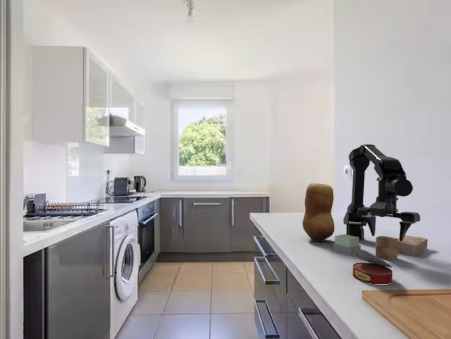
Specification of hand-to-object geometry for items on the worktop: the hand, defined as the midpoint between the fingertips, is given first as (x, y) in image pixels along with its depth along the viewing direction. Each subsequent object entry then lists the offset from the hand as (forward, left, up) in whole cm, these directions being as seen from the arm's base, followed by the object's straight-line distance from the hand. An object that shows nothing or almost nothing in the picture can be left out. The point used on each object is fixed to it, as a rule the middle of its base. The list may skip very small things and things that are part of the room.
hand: (386, 238), depth 99 cm
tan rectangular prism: (0, 0, -7) cm, 7 cm away
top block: (-12, -5, -4) cm, 14 cm away
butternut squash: (-29, +1, -7) cm, 30 cm away
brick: (0, +19, -7) cm, 20 cm away
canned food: (+7, -25, -7) cm, 27 cm away
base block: (-12, -5, -7) cm, 15 cm away
